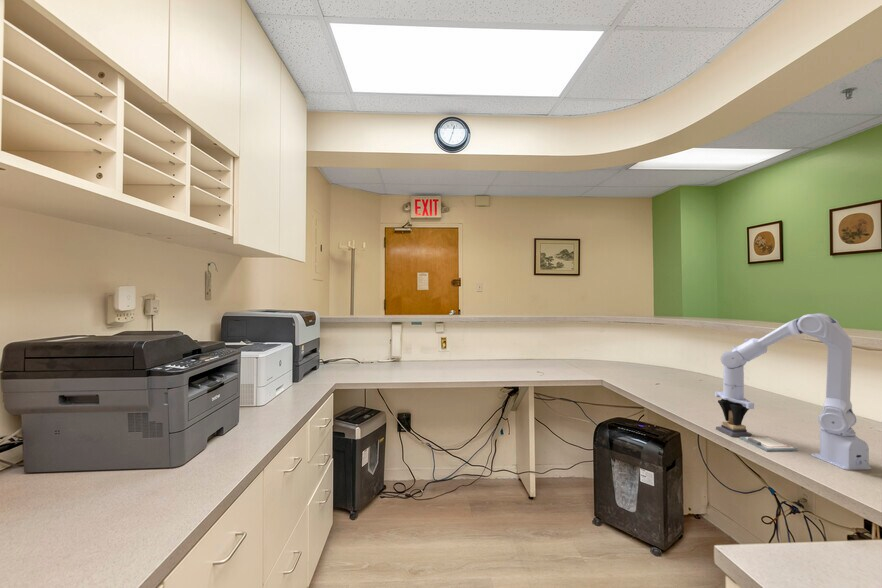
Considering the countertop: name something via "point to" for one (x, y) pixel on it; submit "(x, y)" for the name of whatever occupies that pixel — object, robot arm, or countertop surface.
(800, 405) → the countertop surface
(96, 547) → the countertop surface
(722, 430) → the ink pad
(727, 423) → the stamp
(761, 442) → the clipboard
